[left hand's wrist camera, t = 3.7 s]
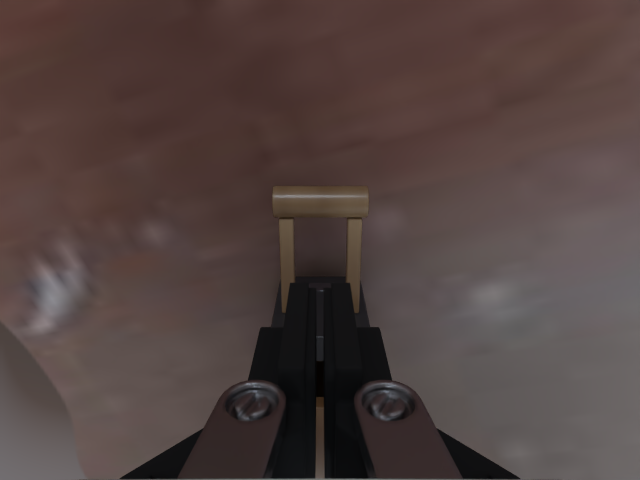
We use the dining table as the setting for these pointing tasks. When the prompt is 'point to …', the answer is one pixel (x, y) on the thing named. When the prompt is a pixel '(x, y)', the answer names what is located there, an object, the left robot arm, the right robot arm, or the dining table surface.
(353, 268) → the wooden handle frame
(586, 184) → the dining table surface
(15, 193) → the dining table surface
